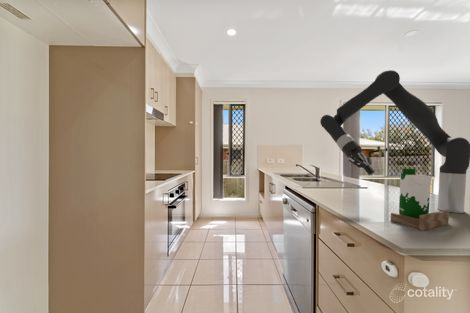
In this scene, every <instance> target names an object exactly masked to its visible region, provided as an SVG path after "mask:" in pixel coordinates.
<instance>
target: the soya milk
mask: <svg viewBox="0 0 470 313" xmlns="http://www.w3.org/2000/svg"><path fill="white" fill-rule="evenodd" d="M431 183H432V175H427V174H424V173H423V174H422V173H416V168H408V167H407V168H404V167H403V168H402V173H401V172H400V173H399V200H398V202H399V203H398V214H400V215H404V216H409V217H413V218H417V219H420V215H423V214H428V213H430V201H431V200H430V199H431V185H432V184H431Z"/></svg>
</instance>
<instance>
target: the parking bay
mask: <svg viewBox="0 0 470 313" xmlns="http://www.w3.org/2000/svg"><path fill="white" fill-rule="evenodd" d="M449 217H450V212H449V211H448V210H443V211H442V210H438V211H434V212H429V213H428V214H423V215H420V219H417V218H413V217H409V216H404V215H400V214H399V213H396V212H391V213H390V222H393V223H394V222H395V223H396V224H401V225H404V224H405V225H406V226H409V227H413V228H416V229H418V230H419V231H422V232H424V231H428V230H431V229H435V228H439V227H443V226H446V225H449ZM405 225H404V226H405Z"/></svg>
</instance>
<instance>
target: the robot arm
mask: <svg viewBox="0 0 470 313" xmlns="http://www.w3.org/2000/svg"><path fill="white" fill-rule="evenodd" d="M374 79H375V80H374V81H372V83H371V84H370V85H368V86H367V87H365V89H363V90H362V91H361V92H359V93H358V94H357V95H355V96H353V97H352V98H350V99H348V100H347V101H346V102H344V103H343V104H342V105H340V106H339V107H338V108H337V109H336V114H335V115H334V116H333V115H331V114H325V115H323V116H321V118H320V125H321V126H320V127H322V128H323V129H324V130H325V132H327V134H329V135H330V136H331V139H333V141H334V142H335V144H336V145H337V147H338V148H339V149H340V151H341V152H342V153H343V155H344V156H345V157H347V158H348V161H349V162H350V163H351V164H353V165H354V166H356V167H357V168H359V169H363V170H364V171H365V172H366V173H367V174H368V175H371V176H373V175H374V174H375V170H374V169H373V168H372V167H371V165H372V160H371V157H370V156H369V155H365V154H364V153H363V152H362V146H360V144H359V143H358V142H357V141H356V140H355V138H353V136H351V134H349V133H348V132H347V131H346V130H345V129H344V128H343V127H342V125H343V124H344V123H345V122H346V121H347V120H348V119H350V118H351V117H353V115H355V114H356V113H358V111H360V110H361V109H362V108H364V107H365V106H366V105H368V104H369V103H371V102H372V101H373V100H374V99H376V98H378V97H379V96H382V95H384V96H385V97H387V98H388V99H389V100H390V101H392V103H394V105H395V106H396V108H397V109H398V110H399V111H400V113H401V114H403V116H404V117H405V118H406V119H407V121H408V122H410V123H411V124H412V125H413V127H415V128H416V129H417V130H418V131H419V132H420V133H421V134H422V135H423V136H424V137H425V138H426V139H427V140H428V141H429V142H430V144H431V145H432V147H433V148H434V149H435V150H436V152H437V153H438V154H439V155H440V156H442V157H444V158H445V159H444V160H445V161H444V163H443V164H442V165H440V166H439V173H438V174H439V176H438V192H437V193H438V194H437V209H438V211H443V210H448V211H449V213H458V214H462V213H465V207H466V206H465V202H466V187H467V186H466V183H467V172H468V169H469V167H470V141H469V140H467V139H466V138H464V137H458V136H456V137H451V136H450V135H449V134H448V133H447V132H446V131H445V130H443V128H442V127H441V126H440V124H439V121H438V118H437V116H436V114H435V112H434V111H433V109H431V108H430V107H429V106H428V104H426V103H425V102H424V101H423V100H421V99H420V98H419V97H417V96H416V95H414V94H412V92H409V91H408V90H407V89H405V87H404V86H403V85H402V84H401V83H400V80H401V77H400V73H398V72H397V71H395V70H393V69H392V70H391V69H388V70H384V71H382V72H381V73H380V74H378V75H377V76H376V78H374Z"/></svg>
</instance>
